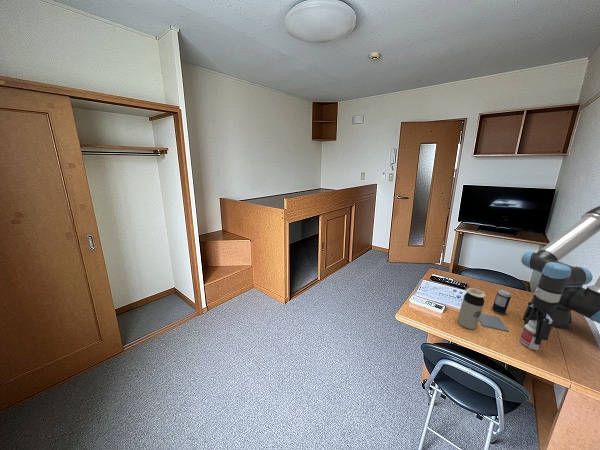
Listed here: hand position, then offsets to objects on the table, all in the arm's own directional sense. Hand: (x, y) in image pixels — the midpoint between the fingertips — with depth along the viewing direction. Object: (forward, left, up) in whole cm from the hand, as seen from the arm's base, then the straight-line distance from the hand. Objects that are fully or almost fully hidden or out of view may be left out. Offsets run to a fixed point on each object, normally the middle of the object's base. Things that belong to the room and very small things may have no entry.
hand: (528, 343), depth 109 cm
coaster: (+10, -12, -1) cm, 16 cm away
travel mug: (+23, -5, -1) cm, 23 cm away
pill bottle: (0, 0, -1) cm, 1 cm away
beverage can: (+2, -24, -1) cm, 24 cm away
